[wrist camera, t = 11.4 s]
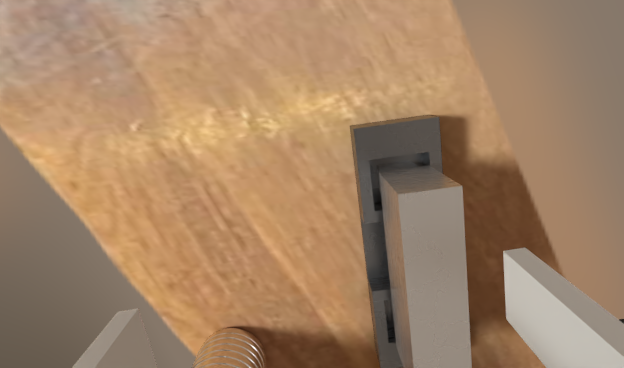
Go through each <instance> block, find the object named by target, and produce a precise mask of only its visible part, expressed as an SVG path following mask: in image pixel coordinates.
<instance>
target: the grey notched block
mask: <svg viewBox="0 0 624 368" xmlns="http://www.w3.org/2000/svg"><path fill="white" fill-rule="evenodd" d="M377 171H378V181H379V190H380V193H381V200H382V210H383V220H384V229H385V239H386V249H387V259H388V269H389V279H390V289H391V298H392V299H391V308H392V318H393V321H394V328H395V338H396V347H397V350H398V353H399V356H400V359H401V362H402V365H403V368H472V362H471V342H470V323H469V303H468V284H467V264H466V245H465V226H464V206H463V187H462V185H460V184H459V183H457V182H455V181H454V180H452V179H450V178H449V177H447V176H446V175H444V174H442V173H441V172H439V171H437V170H436V169H434V168H433V167H431V166H429V165H427V166H420V167H419V166H418V165H416V164H415V163H413V162H412V161H403V162H396V163H389V164H381V165H377Z"/></svg>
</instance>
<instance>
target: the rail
mask: <svg viewBox="0 0 624 368" xmlns="http://www.w3.org/2000/svg"><path fill="white" fill-rule="evenodd" d="M350 132H351V140H352V149H353V158H354V166H355V175H356V184H357V192H358V201H359V210H360V218H361V227H362V235H363V244H364V253H365V261H366V270H367V279H368V287H369V296H370V305H371V313H372V322H373V331H374V339H375V348H376V353H377V357H378V361H379V365H380V368H400V367H403V365H402V362H401V359H400V356H399V353H398V350H397V347H396V338H395V328H394V321H393V318H392V308H391V299H392V298H391V289H390V279H389V269H388V259H387V249H386V239H385V229H384V220H383V210H382V200H381V193H380V190H379V181H378V171H377V165H381V164H389V163H396V162H403V161H412V162H413V163H415V164H416V165H418V166H419V167H420V166H427V165H429V166H431V167H433V168H434V169H436V170H437V171H439V172H441V173H442V174H443V170H442V154H441V138H440V122H439V117H437V116H432V115H423V116H416V117H409V118H402V119H394V120H387V121H380V122H373V123H366V124H359V125H352V126H350Z"/></svg>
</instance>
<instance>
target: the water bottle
mask: <svg viewBox="0 0 624 368" xmlns="http://www.w3.org/2000/svg"><path fill="white" fill-rule="evenodd" d="M192 368H265V352H264V349H263V346H262V344H261V343H260V341H259V340H258V339H257V338H256V337H255V336H254V335H253V334H251V333H249V332H247V331H245V330H242V329H238V328H226V329H222V330H219V331H217V332H215V333H213V334H212V335H210V336H209V337H208V338H207V339H206V341H205V342H204V343H203V345H202V346H201V348H200V350H199V352H198V354H197V357H196V359H195V361H194V364H193V366H192Z"/></svg>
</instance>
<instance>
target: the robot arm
mask: <svg viewBox="0 0 624 368" xmlns="http://www.w3.org/2000/svg"><path fill="white" fill-rule="evenodd" d="M503 258H504V281H505V303H506V319H507V321H508V322H509V323H510V324H511V325H512V327H513V328H514V329H515V330H516V331H517V333H518V334H519V335H520V336H521V338H522V339H523V340H524V341H525V342H526V344H527V345H528V346H529V347H530V348H531V350H532V351H533V352H534V353H535V354H536V356H537V357H538V358H539V359H540V361H541V362H542V363H543V364H544V365H545V367H546V368H624V319H619V320H618V319H617V318H615V317H614V316H613V315H612V314H610V313H609V312H608V311H607V310H605V309H604V308H603V307H601V306H600V305H599V304H598V303H596V302H595V301H594V300H592V299H591V298H590V297H588V296H587V295H586V294H585V293H583V292H582V291H581V290H579V289H578V288H577V287H576V286H574V285H573V284H572V283H570V282H569V281H568V280H567V279H565V278H564V277H563V276H561V275H560V274H559V273H557V272H556V271H555V270H554V269H552V268H551V267H550V266H548V265H547V264H546V263H545V262H543V261H542V260H541V259H539V258H538V257H537V256H536V255H534V254H533V253H532V252H530V251H529V250H528V249H526V248H519V249H513V250H506V251H503ZM72 368H158V367H157V364H156V361H155V358H154V355H153V352H152V349H151V346H150V342H149V339H148V336H147V333H146V330H145V327H144V324H143V321H142V318H141V315H140V312H139V309H132V310H126V311H119V312H117V313H116V315H115V316H114V317H113V318H112V320H111V321H110V322H109V323H108V324H107V326H106V327H105V328H104V329H103V331H102V332H101V333H100V334H99V335H98V337H97V338H96V339H95V340H94V341H93V343H92V344H91V345H90V346H89V348H88V349H87V350H86V352H84V354H83V355H82V356H81V357H80V359H79V360H78V361H77V362H76V363H75V365H74V366H73V367H72Z"/></svg>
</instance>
